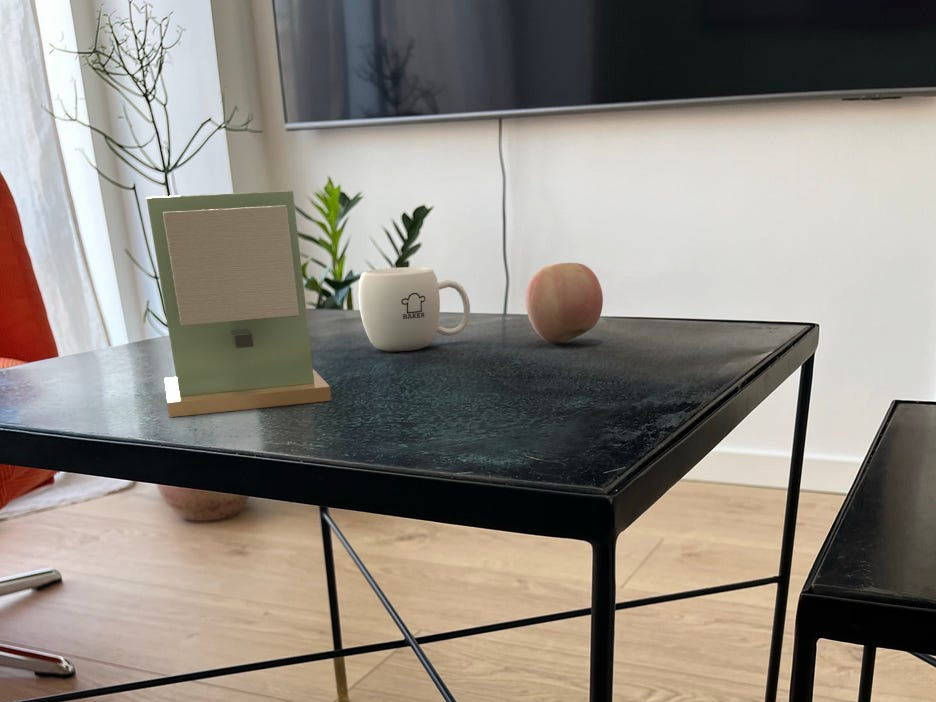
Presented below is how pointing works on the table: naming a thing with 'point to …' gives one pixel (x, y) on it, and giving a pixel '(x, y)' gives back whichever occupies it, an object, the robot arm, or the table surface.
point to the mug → (405, 307)
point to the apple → (564, 301)
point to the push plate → (231, 264)
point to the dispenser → (235, 332)
